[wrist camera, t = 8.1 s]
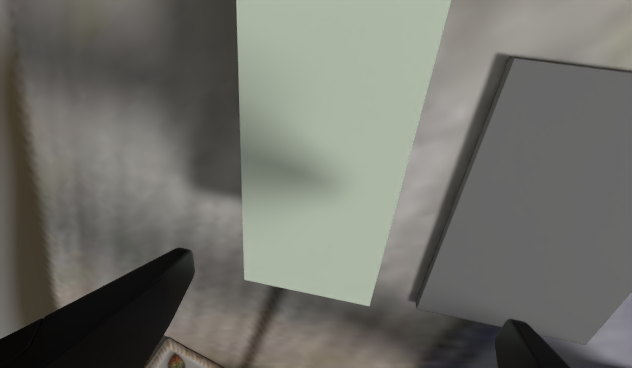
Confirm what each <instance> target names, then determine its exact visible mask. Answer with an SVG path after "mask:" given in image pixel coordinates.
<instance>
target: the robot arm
mask: <svg viewBox="0 0 632 368" xmlns="http://www.w3.org/2000/svg"><path fill="white" fill-rule="evenodd" d="M194 273H195V268H194V260H193V253H192V251H191V250H189V249H184V248H176V249H174V250H172V251H170V252H168V253H166V254H164V255H162V256H160V257H158V258H156V259H154V260H153V261H151V262H149V263H147V264H145V265H143V266H141V267H139V268H137V269H135V270H133V271H131V272H129V273H128V274H126V275H124V276H122V277H120V278H118V279H116V280H114V281H112V282H110V283H108V284H106V285H105V286H103V287H101V288H99V289H97V290H95V291H93V292H91V293H89V294H87V295H85V296H83V297H81V298H80V299H78V300H76V301H74V302H72V303H70V304H68V305H66V306H64V307H62V308H60V309H58V310H56V311H55V312H53V313H51V314H49V315H47V316H45V317H44V319H43V318H42V319H39V320H37V321H35V322H33V323H31V324H29V325H28V326H26V327H24V328H22V329H20V330H18V331H16V332H14V333H12V334H10V335H8V336H6V337H4V338H2V339H0V368H143V367H144V365H145V364H146V362H147V361H148V359H149V357H150V356H151V354H152V353H153V351H154V349H155V348H156V346H157V345H158V343H159V341H160V340H161V338H162V337H163V335H164V333H165V332H166V330H167V328H168V327H169V325H170V323H171V321H172V319H173V317H174V315H175V313H176V311H177V309H178V307H179V305H180V303H181V301H182V299H183V297H184V295H185V293H186V291H187V289H188V287H189V285H190V283H191V281H192V279H193V276H194ZM495 349H496V356H497V363H498V368H570V367H569V366H568V365H567V364H566V363H565V362H564V361H563V359H562V358H561V357H560V356H559V355H558V354H557V353H556V352H555V351H554V350H553V349H552V348H551V347H550V346H549V345H548V344H547V343H546V342H545V341H544V340H543V339H542V338H541V337H540V336H539V335H538V334H537V333H536V332H535V331H534V330H533V329H532V328H531V327H530V325H528V324H527V323H526V322H524V321H520V320H515V319H508V320H506V322H505V323H504V325H503V326H502V328H501V330H500V331H499V333H498V335H497V336H496V339H495Z"/></svg>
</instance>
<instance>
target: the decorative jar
mask: <svg viewBox="0 0 632 368" xmlns="http://www.w3.org/2000/svg"><path fill="white" fill-rule="evenodd" d="M146 368H222V367H220V366H219V365H217V364H215V363H214V362H212V361H210V360H208V359H206V358H204V357H202V356H201V355H199V354H197V353H195V352H193V351H191V350H189V349H187V348H186V347H184V346H183V345H181V344H179V343H177V342H175V341H174V340H172V339H170V338H169V339H166V340H165V342H164V343H163V344H162V346H161V347H160V349H159V350H158V351H157V353H156V354H155V355H154V357H153V358H152V359H151V361H150V362H149V363H148V365H147V366H146Z"/></svg>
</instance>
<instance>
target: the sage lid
mask: <svg viewBox="0 0 632 368" xmlns="http://www.w3.org/2000/svg"><path fill="white" fill-rule="evenodd" d="M450 3H451V0H236V6H237V41H238V76H239V111H240V146H241V181H242V216H243V251H244V280H247V281H252V282H257V283H262V284H266V285H271V286H276V287H280V288H285V289H290V290H295V291H299V292H304V293H309V294H314V295H318V296H323V297H328V298H332V299H337V300H342V301H347V302H351V303H356V304H361V305H365V306H370V302H371V299H372V295H373V291H374V287H375V284H376V280H377V276H378V272H379V269H380V265H381V261H382V258H383V254H384V250H385V246H386V243H387V239H388V235H389V231H390V228H391V224H392V220H393V216H394V213H395V209H396V205H397V201H398V198H399V194H400V190H401V186H402V183H403V179H404V175H405V172H406V168H407V164H408V160H409V157H410V153H411V149H412V145H413V142H414V138H415V134H416V130H417V127H418V123H419V119H420V115H421V112H422V108H423V104H424V100H425V97H426V93H427V89H428V85H429V82H430V78H431V74H432V71H433V67H434V63H435V59H436V56H437V52H438V48H439V44H440V41H441V37H442V33H443V29H444V26H445V22H446V18H447V14H448V11H449V7H450Z"/></svg>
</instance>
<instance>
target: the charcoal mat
mask: <svg viewBox="0 0 632 368" xmlns="http://www.w3.org/2000/svg"><path fill="white" fill-rule="evenodd" d="M631 292H632V72H627V71H619V70H611V69H603V68H595V67H587V66H579V65H571V64H563V63H556V62H548V61H540V60H532V59H524V58H516V57H510V58H509V61H508V64H507V66H506V69H505V71H504V74H503V77H502V79H501V82H500V85H499V87H498V90H497V92H496V95H495V98H494V100H493V103H492V105H491V108H490V111H489V113H488V116H487V118H486V121H485V124H484V126H483V129H482V132H481V134H480V137H479V139H478V142H477V145H476V147H475V150H474V152H473V155H472V158H471V160H470V163H469V165H468V168H467V171H466V173H465V176H464V179H463V181H462V184H461V186H460V189H459V192H458V194H457V197H456V199H455V202H454V205H453V207H452V210H451V212H450V215H449V218H448V220H447V223H446V226H445V228H444V231H443V233H442V236H441V239H440V241H439V244H438V246H437V249H436V252H435V254H434V257H433V259H432V262H431V265H430V267H429V270H428V273H427V275H426V278H425V280H424V283H423V286H422V288H421V291H420V293H419V296H418V299H417V301H416V308H417V309H419V310H424V311H428V312H433V313H438V314H442V315H447V316H452V317H456V318H461V319H466V320H471V321H475V322H480V323H485V324H489V325H494V326H499V327H502V326H503V325H504V323H505V322H506V320H508V319H515V320H520V321H524V322H526V323H527V324H528V325H530V327H531V328H532V329H533V330H534V331H535V332H536V333H537V334H538V335H541V336H546V337H550V338H555V339H560V340H565V341H569V342H574V343H579V344H583V345H586V344H587V343H588V341H589V340H590V339H591V338H592V337H593V336H594V335H595V333H596V332H597V331H598V330H599V329H600V328H601V327H602V325H603V324H604V323H605V322H606V321H607V320H608V319H609V317H610V316H611V315H612V314H613V313H614V312H615V310H616V309H617V308H618V307H619V306H620V305H621V304H622V302H623V301H624V300H625V299H626V298H627V297H628V296H629V294H630V293H631Z"/></svg>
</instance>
